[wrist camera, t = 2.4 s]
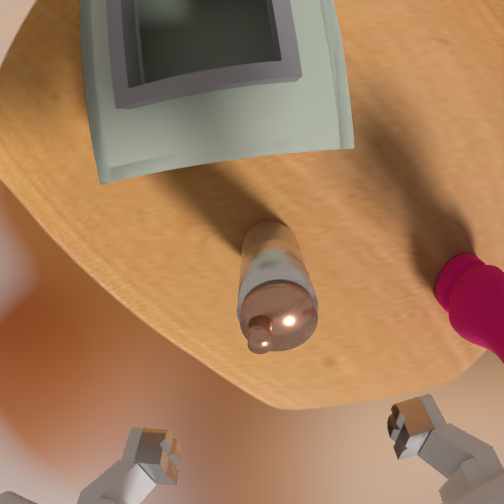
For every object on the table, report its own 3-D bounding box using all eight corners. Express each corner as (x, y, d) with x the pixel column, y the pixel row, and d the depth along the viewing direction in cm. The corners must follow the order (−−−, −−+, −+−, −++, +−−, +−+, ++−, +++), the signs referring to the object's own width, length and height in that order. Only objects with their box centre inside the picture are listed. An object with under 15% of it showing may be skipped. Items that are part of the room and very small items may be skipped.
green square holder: (295, -43, 15) (313, -105, 7) (325, 140, 21) (367, 152, 13) (120, -12, 16) (67, -54, 7) (141, 165, 22) (83, 193, 14)
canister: (295, 217, 24) (327, 297, 13) (299, 268, 26) (326, 368, 15) (238, 224, 24) (227, 309, 13) (246, 274, 26) (241, 377, 15)
